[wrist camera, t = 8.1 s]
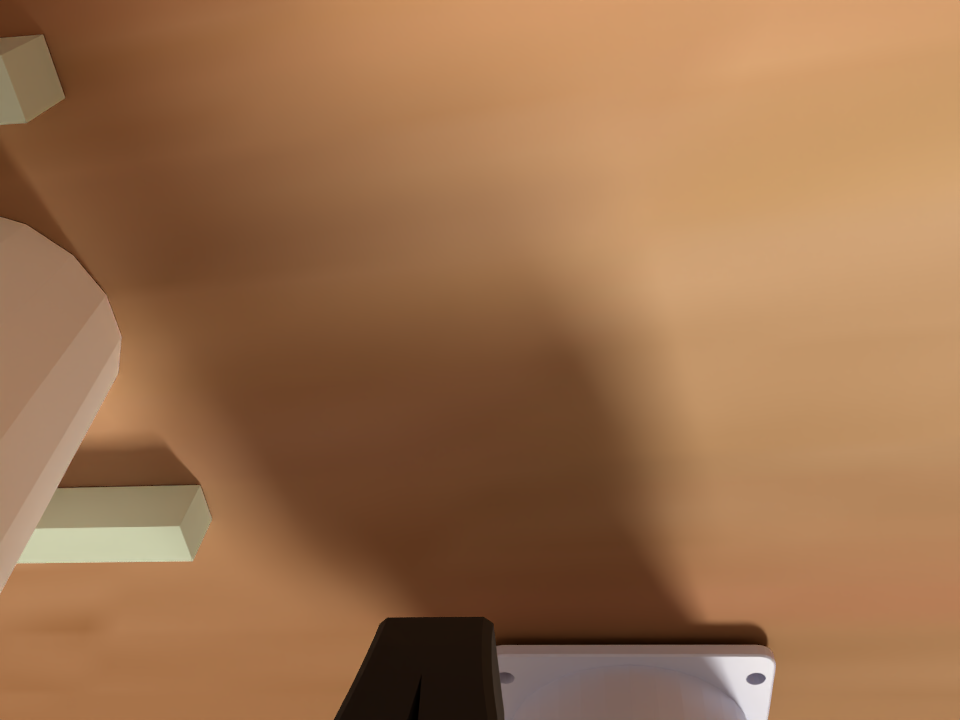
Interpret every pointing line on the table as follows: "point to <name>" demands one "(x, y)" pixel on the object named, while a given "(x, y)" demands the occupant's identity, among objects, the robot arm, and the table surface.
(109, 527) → the pale green angular frame
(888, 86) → the table surface
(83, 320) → the beige faceted cylinder
